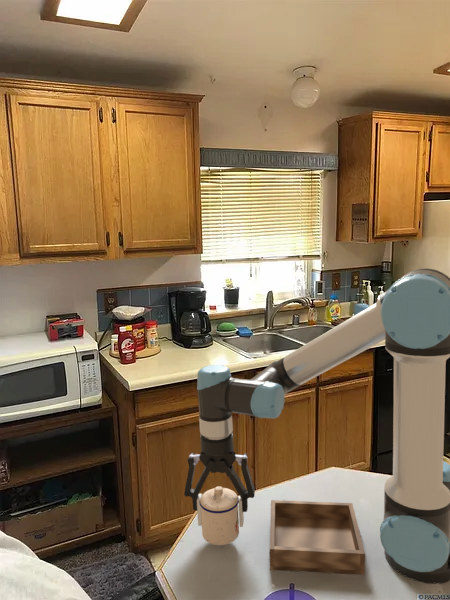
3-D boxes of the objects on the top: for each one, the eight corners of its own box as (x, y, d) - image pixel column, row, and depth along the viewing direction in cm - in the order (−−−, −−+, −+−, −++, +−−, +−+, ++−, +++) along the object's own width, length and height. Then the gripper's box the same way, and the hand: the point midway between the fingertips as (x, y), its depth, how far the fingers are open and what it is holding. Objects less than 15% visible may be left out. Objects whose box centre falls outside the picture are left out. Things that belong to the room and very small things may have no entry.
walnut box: (352, 521, 117) (352, 503, 116) (364, 574, 99) (365, 553, 99) (271, 518, 119) (271, 500, 119) (270, 569, 102) (269, 549, 101)
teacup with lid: (245, 541, 107) (244, 493, 105) (207, 551, 104) (205, 503, 103) (228, 511, 118) (226, 468, 117) (193, 520, 116) (191, 476, 114)
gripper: (264, 426, 110) (267, 514, 113) (173, 425, 113) (179, 511, 116) (263, 440, 103) (266, 534, 106) (166, 439, 105) (172, 531, 109)
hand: (221, 522), depth 111 cm, fingers closed on teacup with lid, 9 cm apart
